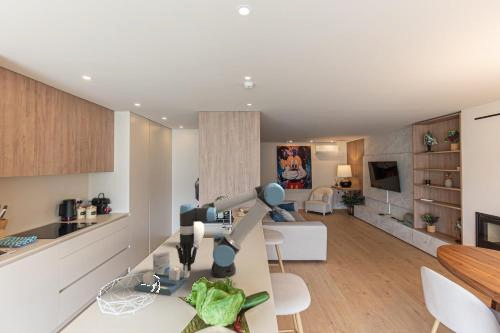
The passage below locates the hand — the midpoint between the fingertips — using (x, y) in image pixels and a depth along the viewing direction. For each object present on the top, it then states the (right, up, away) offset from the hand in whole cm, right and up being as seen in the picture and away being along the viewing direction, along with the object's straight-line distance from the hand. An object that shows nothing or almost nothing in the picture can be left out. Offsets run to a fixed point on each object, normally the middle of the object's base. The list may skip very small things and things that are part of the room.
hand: (187, 276), depth 133 cm
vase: (-11, -6, +68) cm, 69 cm away
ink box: (-20, -5, +17) cm, 27 cm away
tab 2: (-8, -3, +2) cm, 8 cm away
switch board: (-14, -5, 0) cm, 14 cm away
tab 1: (-19, -3, -3) cm, 20 cm away
